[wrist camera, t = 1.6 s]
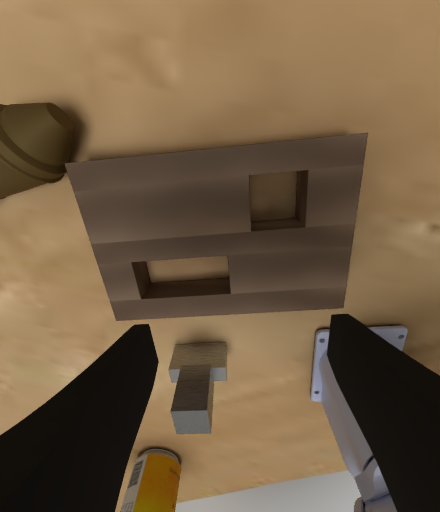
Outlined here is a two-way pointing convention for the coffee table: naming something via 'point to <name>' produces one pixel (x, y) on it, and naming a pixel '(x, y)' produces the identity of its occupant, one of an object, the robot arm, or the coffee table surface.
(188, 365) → the gray t-shaped block
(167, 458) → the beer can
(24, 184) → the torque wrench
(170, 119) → the coffee table surface
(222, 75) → the coffee table surface
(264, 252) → the stand
